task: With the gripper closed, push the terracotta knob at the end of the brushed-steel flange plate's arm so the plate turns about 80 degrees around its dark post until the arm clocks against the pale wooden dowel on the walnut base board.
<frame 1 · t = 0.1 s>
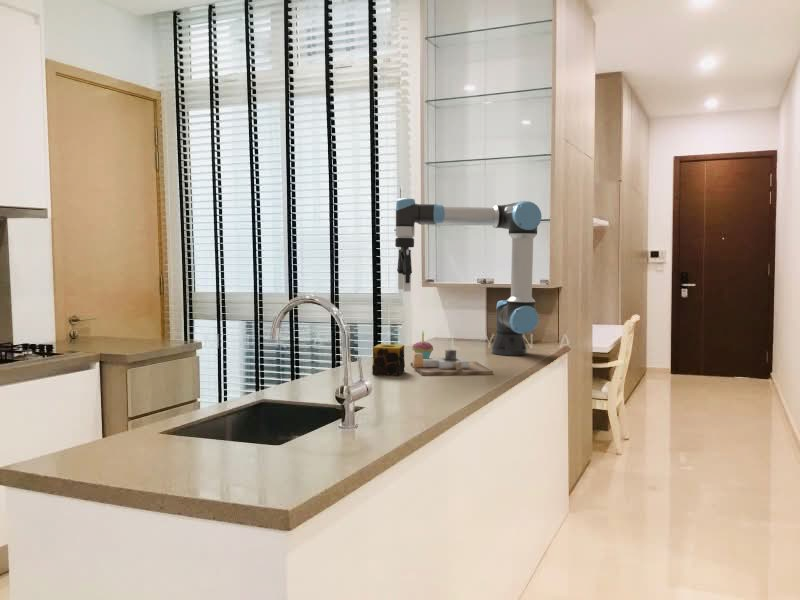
hand: (404, 290, 291), 28 cm above the worktop, fingers open, 13 cm apart
base board: (450, 369, 270), on the worktop
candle: (388, 374, 261), on the worktop
cupcake: (422, 359, 295), on the worktop
flange: (439, 359, 269), point 4 cm above the worktop, hinge at 0.0°
dowel: (458, 374, 261), resting on base board
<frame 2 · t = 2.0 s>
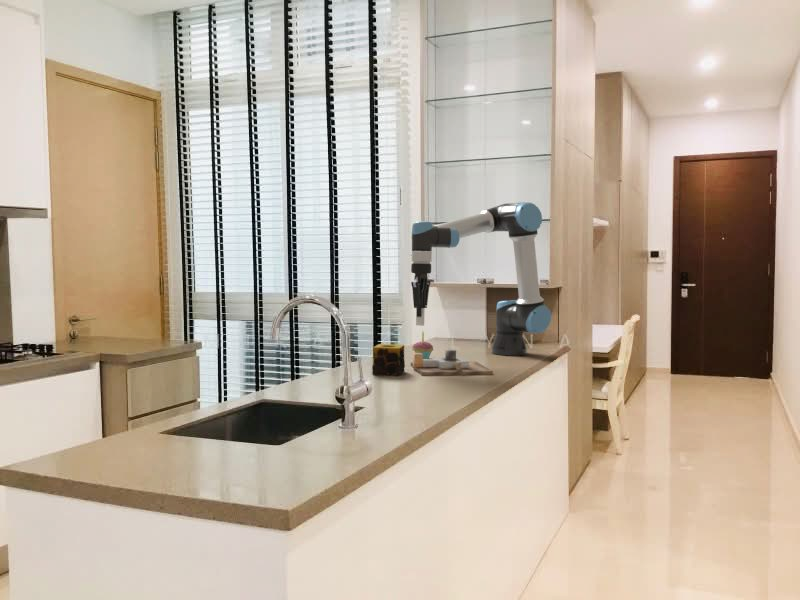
hand: (420, 325, 274), 16 cm above the worktop, fingers closed
nothing on the worktop moved.
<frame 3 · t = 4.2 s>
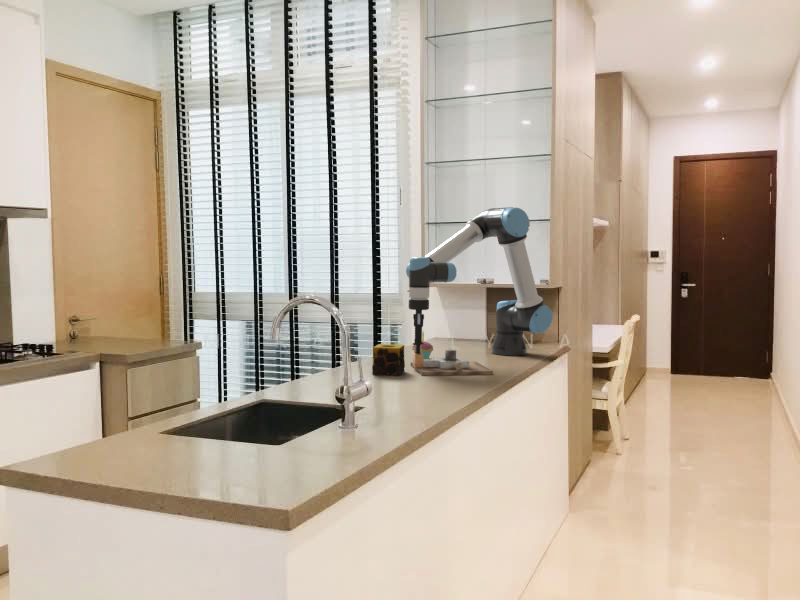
hand: (417, 361, 270), 3 cm above the worktop, fingers closed
flange: (439, 359, 268), point 4 cm above the worktop, hinge at 2.8°, touching gripper
everything else where it was.
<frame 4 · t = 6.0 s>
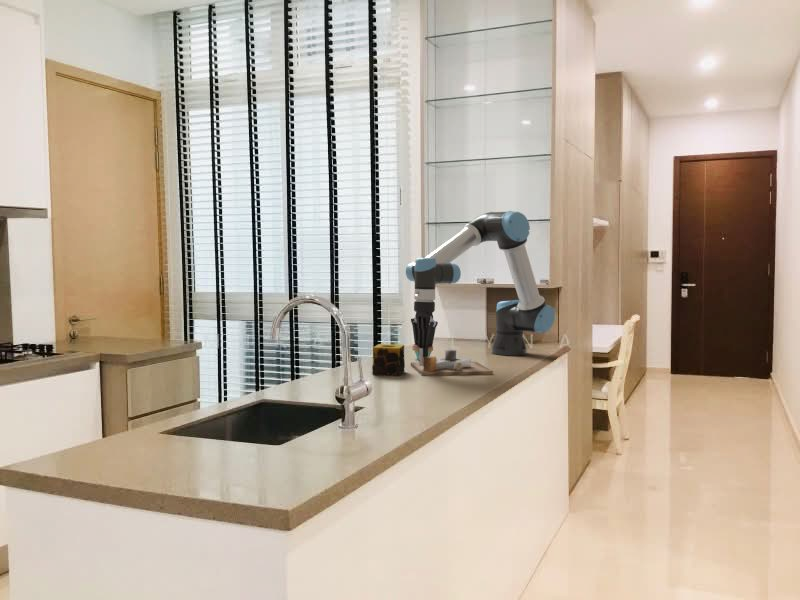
hand: (422, 365, 262), 3 cm above the worktop, fingers closed
flange: (443, 361, 266), point 4 cm above the worktop, hinge at 39.8°, touching gripper
everything else where it was.
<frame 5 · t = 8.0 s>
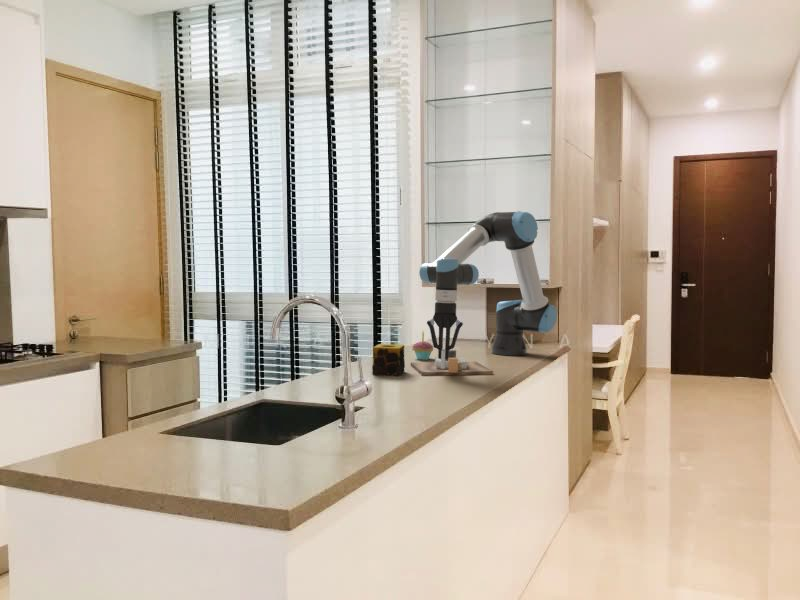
hand: (443, 368, 257), 3 cm above the worktop, fingers closed
flange: (451, 361, 265), point 4 cm above the worktop, hinge at 80.0°, touching dowel, gripper
everything else where it was.
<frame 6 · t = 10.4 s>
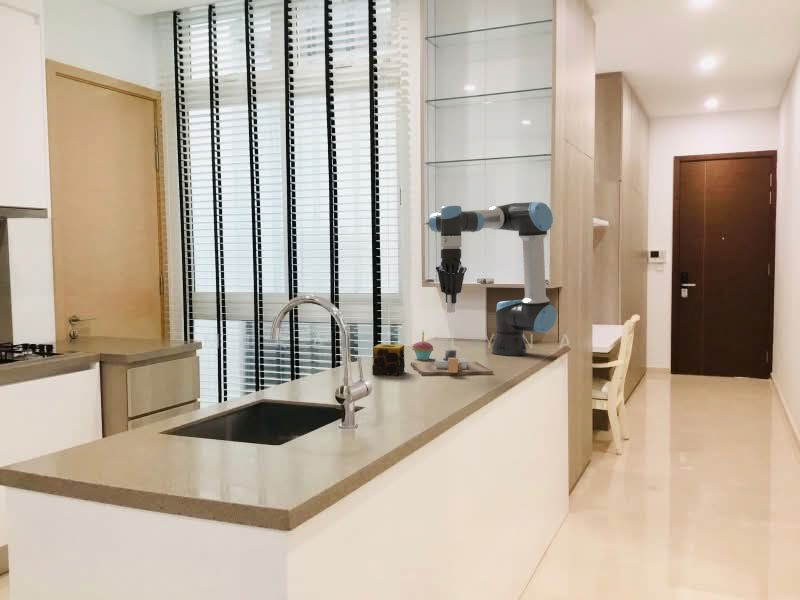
hand: (451, 312, 267), 22 cm above the worktop, fingers closed
flange: (451, 361, 265), point 4 cm above the worktop, hinge at 80.0°
everything else where it was.
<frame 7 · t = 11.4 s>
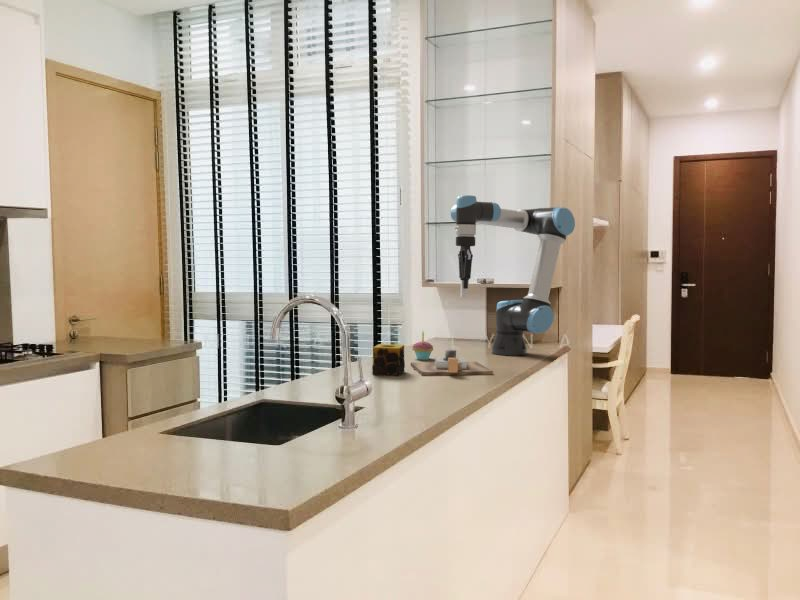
hand: (464, 297, 281), 26 cm above the worktop, fingers closed
nothing on the worktop moved.
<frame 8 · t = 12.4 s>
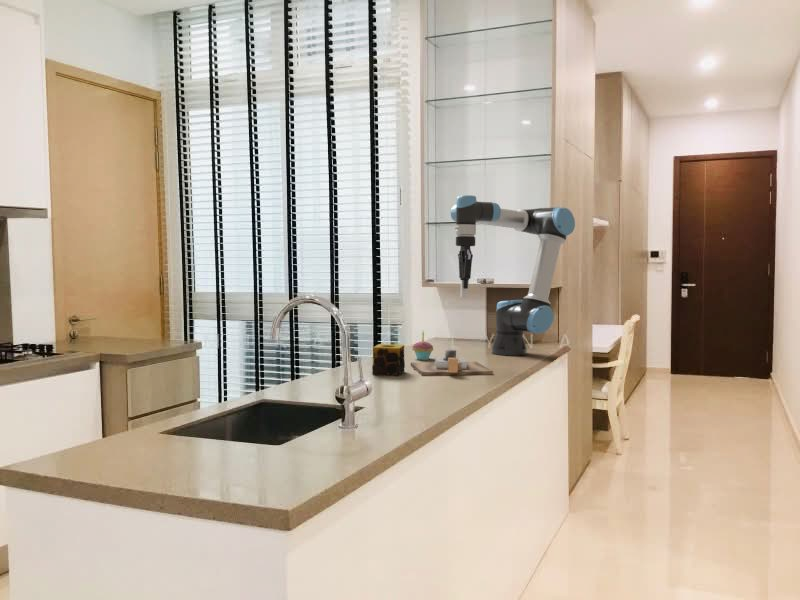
hand: (464, 296, 281), 26 cm above the worktop, fingers closed
nothing on the worktop moved.
at the end: flange at +80° (first picture: +0°) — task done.
